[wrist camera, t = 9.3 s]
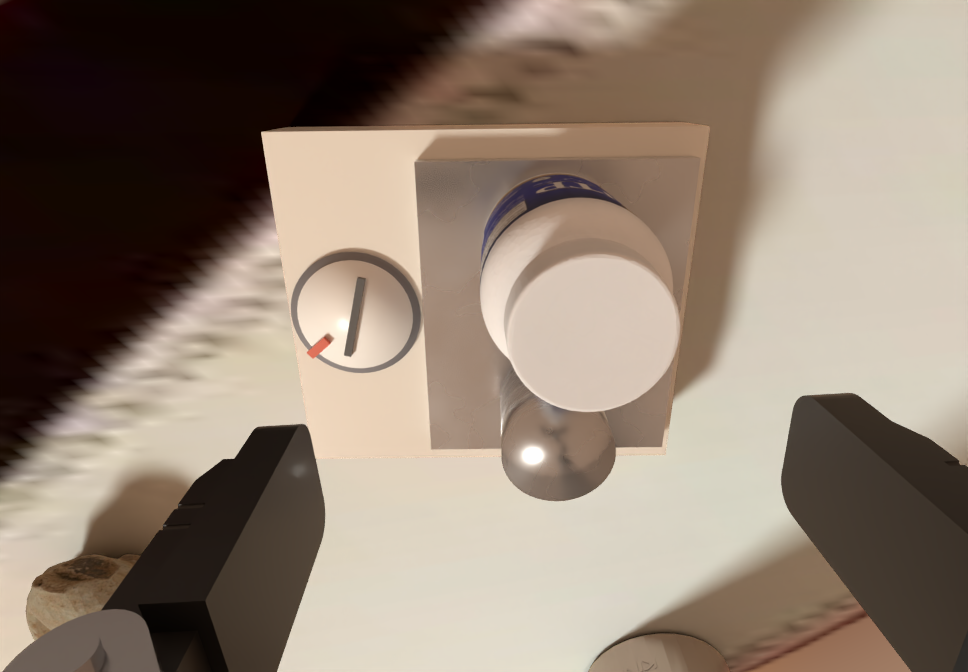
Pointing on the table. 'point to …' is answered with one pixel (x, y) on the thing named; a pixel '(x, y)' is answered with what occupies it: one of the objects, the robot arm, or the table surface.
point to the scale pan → (456, 281)
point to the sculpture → (74, 590)
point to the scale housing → (400, 263)
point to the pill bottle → (577, 293)
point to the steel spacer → (552, 445)
